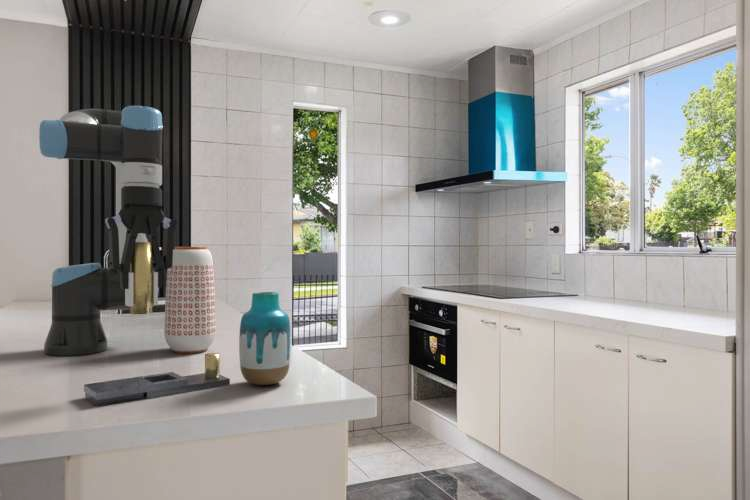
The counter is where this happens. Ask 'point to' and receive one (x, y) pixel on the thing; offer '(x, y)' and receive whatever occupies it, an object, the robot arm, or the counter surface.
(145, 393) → the grey slide latch
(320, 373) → the counter surface
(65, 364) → the counter surface
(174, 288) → the vase
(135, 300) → the pin
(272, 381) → the vase
